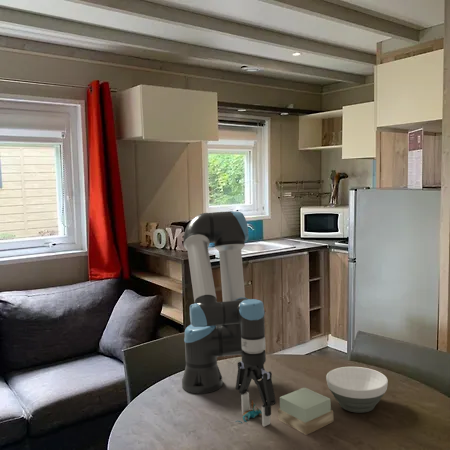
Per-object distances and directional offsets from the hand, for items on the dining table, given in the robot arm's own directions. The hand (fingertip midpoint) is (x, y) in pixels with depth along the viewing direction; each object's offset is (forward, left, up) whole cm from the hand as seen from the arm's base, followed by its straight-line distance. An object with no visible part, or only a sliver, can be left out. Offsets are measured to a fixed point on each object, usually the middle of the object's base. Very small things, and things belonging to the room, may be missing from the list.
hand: (255, 418), depth 153 cm
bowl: (+15, +31, 0) cm, 34 cm away
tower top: (+11, +11, +3) cm, 16 cm away
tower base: (+11, +11, -1) cm, 16 cm away
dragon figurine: (-2, -1, -1) cm, 3 cm away
